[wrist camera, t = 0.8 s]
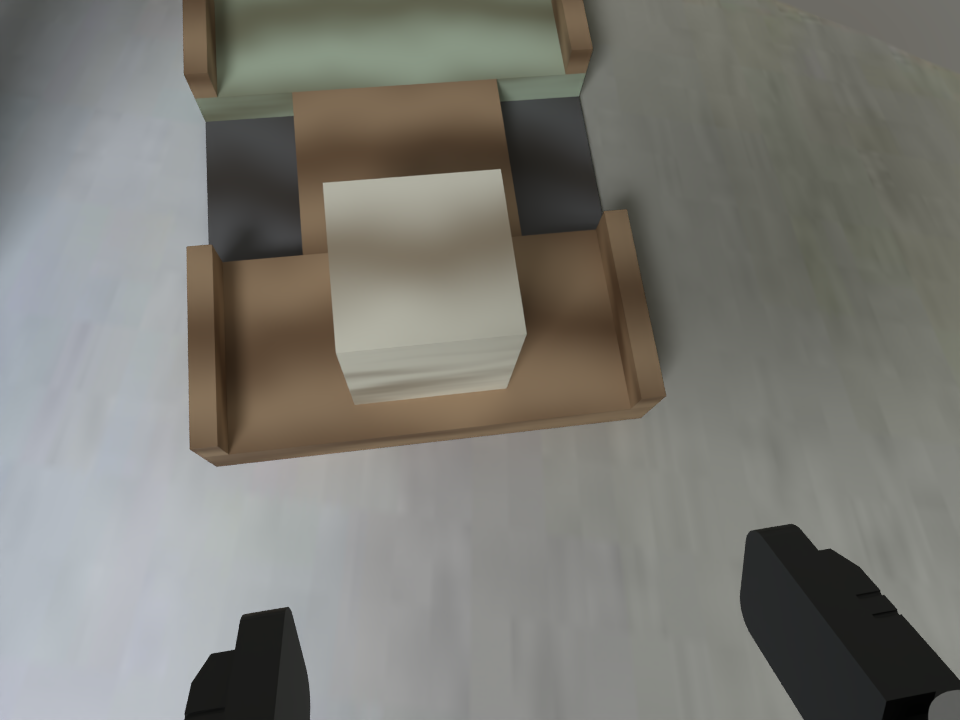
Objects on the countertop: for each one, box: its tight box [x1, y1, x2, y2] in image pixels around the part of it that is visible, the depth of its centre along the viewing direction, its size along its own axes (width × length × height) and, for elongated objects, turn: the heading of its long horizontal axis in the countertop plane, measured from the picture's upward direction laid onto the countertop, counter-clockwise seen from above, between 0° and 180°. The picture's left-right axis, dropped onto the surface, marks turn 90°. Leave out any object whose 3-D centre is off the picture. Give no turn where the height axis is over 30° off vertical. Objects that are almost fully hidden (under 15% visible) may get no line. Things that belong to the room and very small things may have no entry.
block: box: [323, 169, 527, 405], centre depth 34 cm, size 8×8×8 cm
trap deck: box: [183, 0, 666, 467], centre depth 41 cm, size 31×22×6 cm
